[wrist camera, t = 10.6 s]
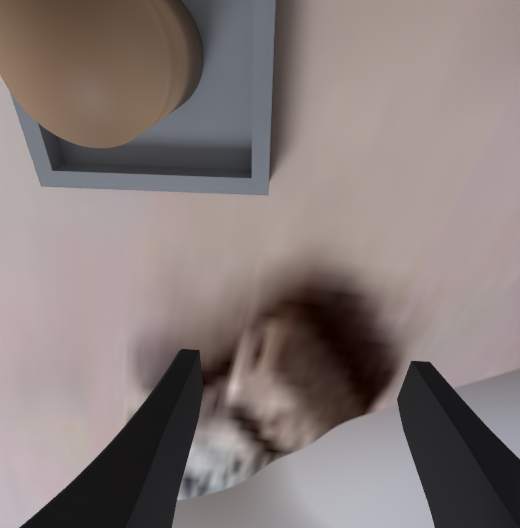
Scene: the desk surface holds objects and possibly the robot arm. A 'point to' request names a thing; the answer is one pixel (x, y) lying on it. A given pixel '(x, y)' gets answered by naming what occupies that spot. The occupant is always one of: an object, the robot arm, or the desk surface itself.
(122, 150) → the tray
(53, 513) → the robot arm
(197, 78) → the cylinder
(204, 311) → the desk surface
